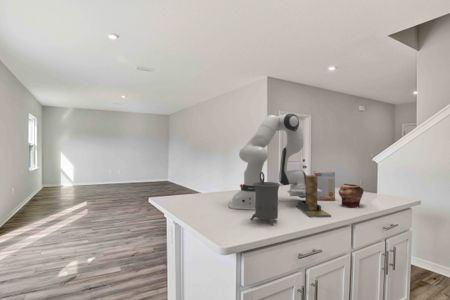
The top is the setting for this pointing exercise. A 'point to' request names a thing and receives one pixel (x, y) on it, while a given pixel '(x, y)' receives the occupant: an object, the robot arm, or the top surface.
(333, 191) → the cracker box
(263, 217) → the footed curly-handled cup
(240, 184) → the robot arm
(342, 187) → the decorative planter
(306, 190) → the walnut block
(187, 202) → the top surface
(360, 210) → the top surface
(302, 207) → the steel chute
